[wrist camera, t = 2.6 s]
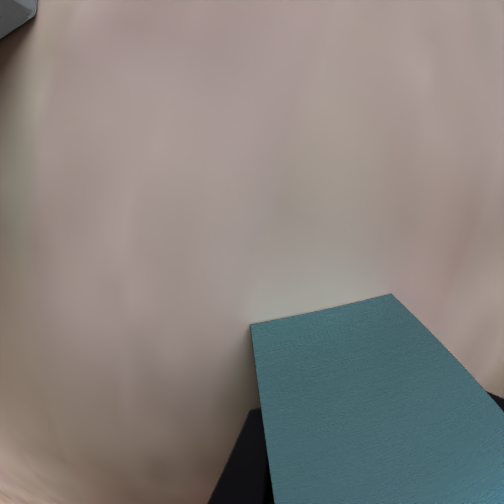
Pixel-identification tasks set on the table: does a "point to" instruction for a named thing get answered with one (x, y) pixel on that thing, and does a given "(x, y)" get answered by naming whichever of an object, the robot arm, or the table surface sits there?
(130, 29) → the table surface
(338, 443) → the blade tool
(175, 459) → the table surface
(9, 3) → the skincare box
